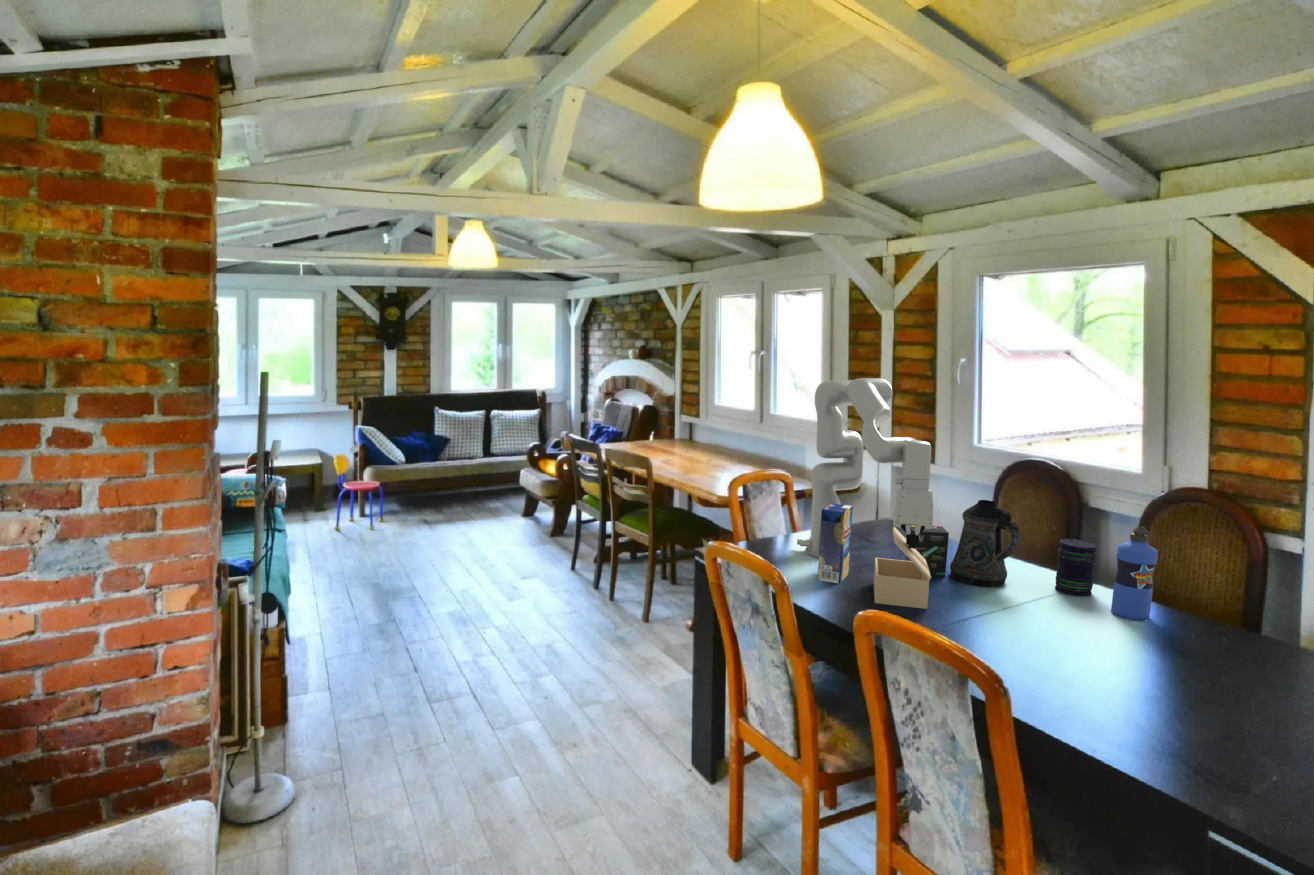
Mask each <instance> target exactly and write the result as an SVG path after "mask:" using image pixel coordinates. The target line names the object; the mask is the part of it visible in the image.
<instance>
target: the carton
mask: <svg viewBox="0 0 1314 875" xmlns="http://www.w3.org/2000/svg"><path fill="white" fill-rule="evenodd" d="M873 572H874V574H873V595H874V598H873V599H874V600H873V601H874V604H880V605H889V606H897V607H906V608H914V609H922V610H923V609H925V610H927V609H928V604H929V591H930V580H929V579H928V578H927V577H926V576H925V575H924V574H923V573H922V572H921V570H920V569H919V568H918V567H917V566H916V565H915V564H914V563H913V562H912V561H905V559H903V560H901V559H892V558H891V559H890V558H882V557H874V571H873Z"/></svg>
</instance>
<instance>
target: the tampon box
mask: <svg viewBox="0 0 1314 875" xmlns="http://www.w3.org/2000/svg"><path fill="white" fill-rule="evenodd" d="M932 525H933V528H932V529H925V530H923V531H922V532H921V533H920V534H919V535H918V544H917V545H915V549H916V550H917V551H918V552H919V553H920V554H921V555H922V556H923V557H924V559H925V560H926V562H927V566H928V568H929V572H930V576H931V578H933V577H935V578H946V572H947V561H948V559H947V558H948V548H949V537H950V536H949V535H950V532H949V531H948V530H946V529H945V527H944V526H942V525H934V524H932ZM914 529H915V525H910V531H911V532H912V533H913V531H914ZM904 557H905V558H904V561H911V560H910V559H909V558H908V557H907V556H906V555H905V556H904Z"/></svg>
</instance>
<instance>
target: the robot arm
mask: <svg viewBox="0 0 1314 875" xmlns="http://www.w3.org/2000/svg"><path fill="white" fill-rule="evenodd" d="M893 394H894V393H893V388H892V385H891V383H890V382H889V381H887V380H886V379H884V378H879V377H877V378H875V377H861V378H859V377H858V378H855V379H848V380H847V379H830V380H825V381H823V382H821V383H820V384H819V385H818V386H817V388H816V389H815V392H814V407H815V411H816V420H817V421H816V452H817V455H818V457H820V458H822V459H843V460H842V461H838V462H837V461H834V462H831V461H829V462H828V461H827V462H822V463H818V464H816V465H815V466H813V468H812V469H811V472H810V480H811V481H810V482H811V487H812V488H811V489H812V503H811V504H812V505H811V521H810V522H811V525H810V526H811V527H810V536H809V538H807V539H802V538H801V539H800V538H796V540H797V541H796V545H798V546H799V547H805V548H804V549H805V550H804V552H805V554H807V555H808V556H811V557H814V558H819V548H820V531H821V514H822V509H823V508H825V507H826V506H827V505H829V504H830V503H835V504H842V503H841V499H840V498H839V496H838V495H837V492H836V491H847V490H854V489H857V488H858V487H860V485H861V483H862V480H863V472H864V471H863V470H864V468H863V467H864V448H865V449H866V451H867V452H868V455H869V456H870V457H871V458H872V459H873V460H874V461H875V462H876V463H879V464H902V465H901V467H902V468H901V476H900V478H897V479H896V480H895V484H896V485H899V487H898V490H897V494H896V498H895V503H894V504H895V505H894V506H895V507H894V520H893V523H892V525H893V527H895V528H896V527H897V528H900V529H902V530H903V531H904V533H905V534H906V535H905V536H906V537H905V538H906V545H908V547H909V548H910V549H911V548H913V549H915V545H917V544H918V535H919V534H920V533H921V532H922V531H923V530H925V529H932V528H933V525H934V524H933V521H934V520H933V519H934V496H933V491H932V489H930V478H931V463H932V462H931V461H932V460H931V459H932V444H931V443H930V442H928V441H924V440H917V439H915V438H913V437H909V436H902V437H901V436H889V437H887V436H886V437H885V436H884V437H883V436H882V435H881V433H880V432H879V431H878V428H879V427H881V426H883V425H884V424H885V423H886V422H887V421H888V420H889V418H890V417H891V408H890V406H888V405H887V404H888V403H890V401H892V398H893ZM840 406H842V407H843V406H844V407H845V406H846V407H848V406H852V407H854V409H855V411H856V412H857V414H858V416H859V417H860V419H861V420H862V422H863V425H862V428H861V435H860V434H859V432H857V431H855V430H850V429H845V430H844V428H843V427H844V419H843V415H842V412H841V410H840V409H839V407H840ZM910 525H915V529H914V531H913V533H912V532H911V531H910Z"/></svg>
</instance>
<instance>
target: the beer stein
mask: <svg viewBox="0 0 1314 875" xmlns="http://www.w3.org/2000/svg"><path fill="white" fill-rule="evenodd" d="M961 515H962V520H963V525H962V529H961V534H960V539H959V541H958V546H957V548H956V552H955V554H954V557H953V559H952V561H951V562H950V564H949V568H950V576H951V578H952V579H953V580H955V581H957V582H958V583H961V584H964V585H968V586H973V587H980V588H998V587H999V588H1000V587H1002V586H1004V585H1005V583H1006V580H1007V577H1008V570H1007V568H1006V563H1005V560H1006V559H1007V558H1009V557H1010V556H1011V555H1012V554H1013V553H1014V552H1016V550H1017V549H1018V547H1019V545H1020V543H1021V540H1022V539H1021V538H1022V537H1021V531H1020V527H1019V526H1018V525H1017V523H1016V522H1014V521H1012V515H1011V513H1010V512H1009V511H1008V510H1005V509H1002V508H1000V507H999V506H998V505H997V502H995V501H993V500H989V499H980V500H978V501H977V503H976V504H974V505H972V506H970V507H969V508H967V509H965V510H964V511H963V512H962V514H961ZM1003 530H1006V532H1008V533H1009V537H1010V541H1009V543H1008V544H1007V546H1006V547H1005V548H1004V538H1003V535H1004V534H1003Z"/></svg>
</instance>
